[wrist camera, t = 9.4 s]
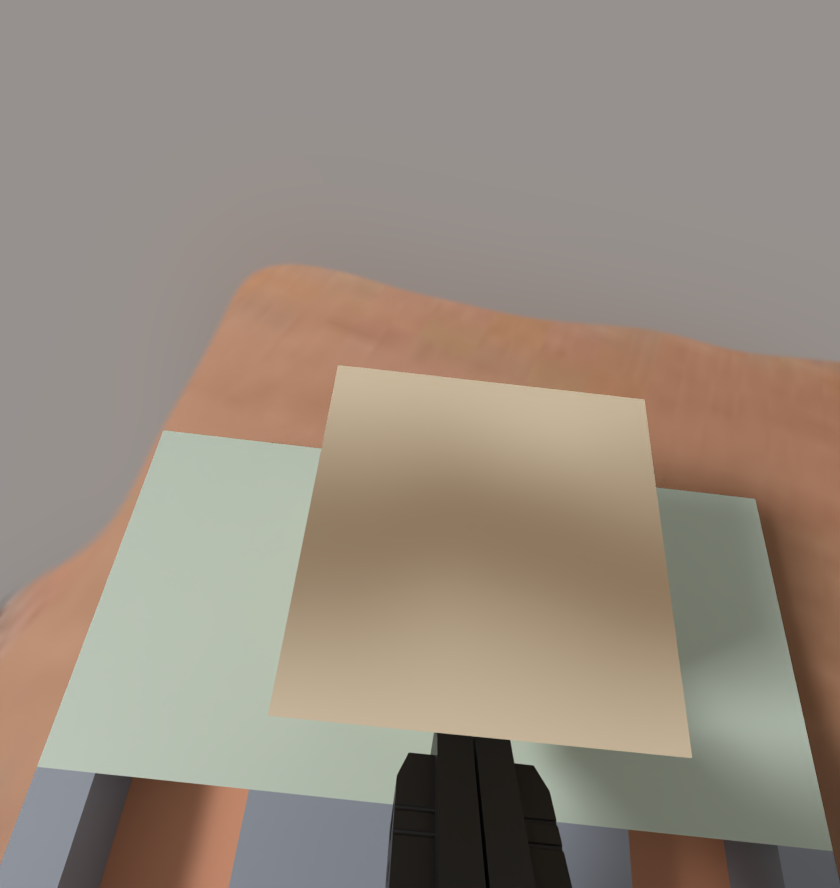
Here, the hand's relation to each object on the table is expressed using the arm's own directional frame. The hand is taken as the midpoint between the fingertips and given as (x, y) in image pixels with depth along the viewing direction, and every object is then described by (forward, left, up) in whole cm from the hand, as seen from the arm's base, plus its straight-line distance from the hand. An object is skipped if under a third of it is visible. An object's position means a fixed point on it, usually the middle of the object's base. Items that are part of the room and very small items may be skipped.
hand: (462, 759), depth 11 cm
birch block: (-3, -2, -4) cm, 5 cm away
